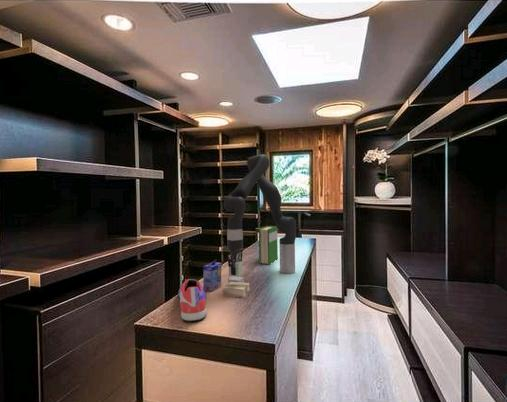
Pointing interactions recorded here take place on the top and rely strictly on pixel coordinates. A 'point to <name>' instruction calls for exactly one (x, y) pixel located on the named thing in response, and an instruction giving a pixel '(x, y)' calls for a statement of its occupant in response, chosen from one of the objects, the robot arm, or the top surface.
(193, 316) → the soccer shoe
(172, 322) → the top surface
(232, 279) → the grey block
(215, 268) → the ink cartridge box
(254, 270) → the top surface
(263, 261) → the hardback book
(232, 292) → the maple block
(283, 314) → the top surface
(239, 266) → the sage block
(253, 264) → the top surface
